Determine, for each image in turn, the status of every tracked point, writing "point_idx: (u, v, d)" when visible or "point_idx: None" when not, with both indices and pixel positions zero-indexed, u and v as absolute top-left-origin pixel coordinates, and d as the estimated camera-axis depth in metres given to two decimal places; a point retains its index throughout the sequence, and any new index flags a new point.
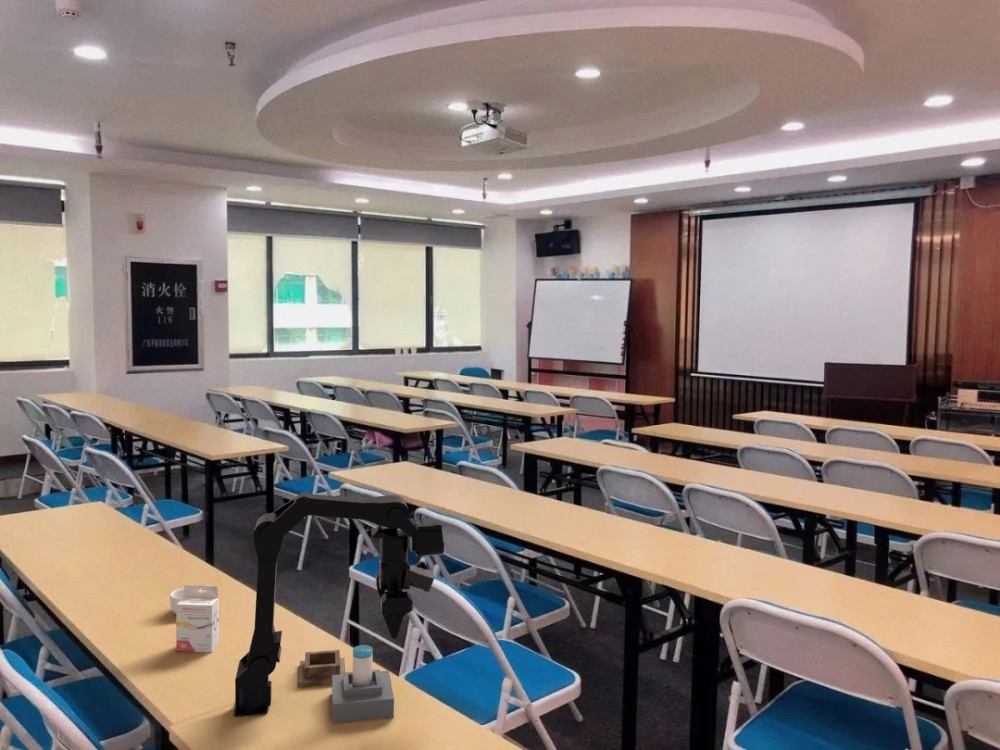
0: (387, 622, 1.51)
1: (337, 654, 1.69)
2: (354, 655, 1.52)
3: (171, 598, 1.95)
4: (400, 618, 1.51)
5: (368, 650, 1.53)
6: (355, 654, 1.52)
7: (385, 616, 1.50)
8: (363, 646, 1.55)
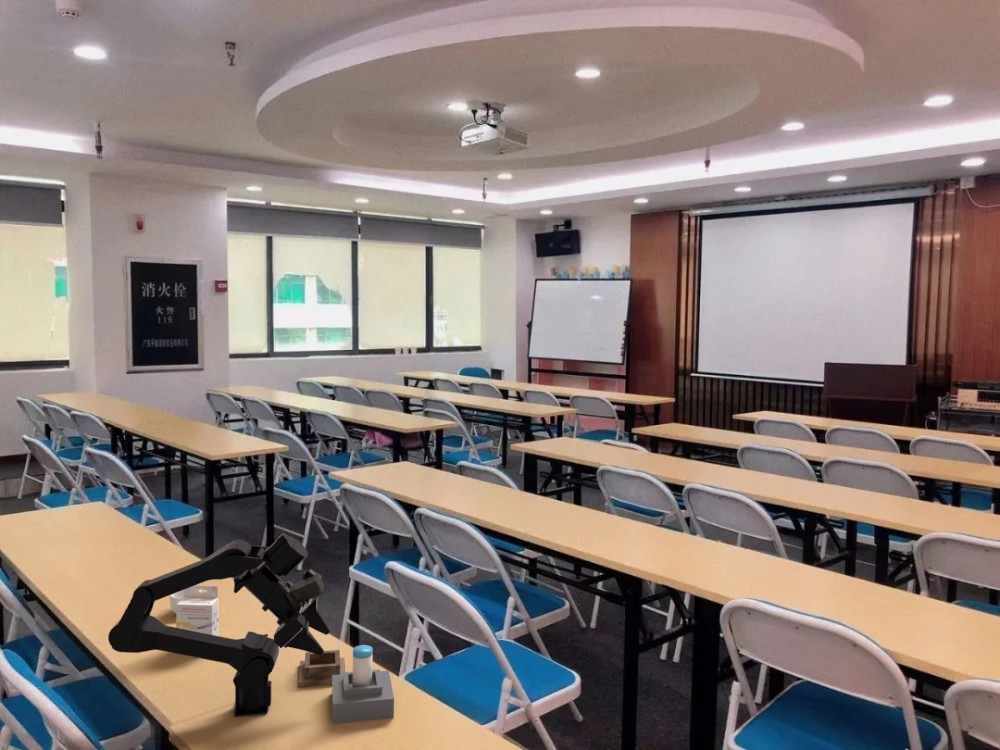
0: (300, 648, 1.46)
1: (337, 654, 1.69)
2: (354, 655, 1.52)
3: (171, 598, 1.95)
4: (307, 637, 1.46)
5: (368, 650, 1.53)
6: (355, 654, 1.52)
7: (293, 645, 1.45)
8: (363, 646, 1.55)
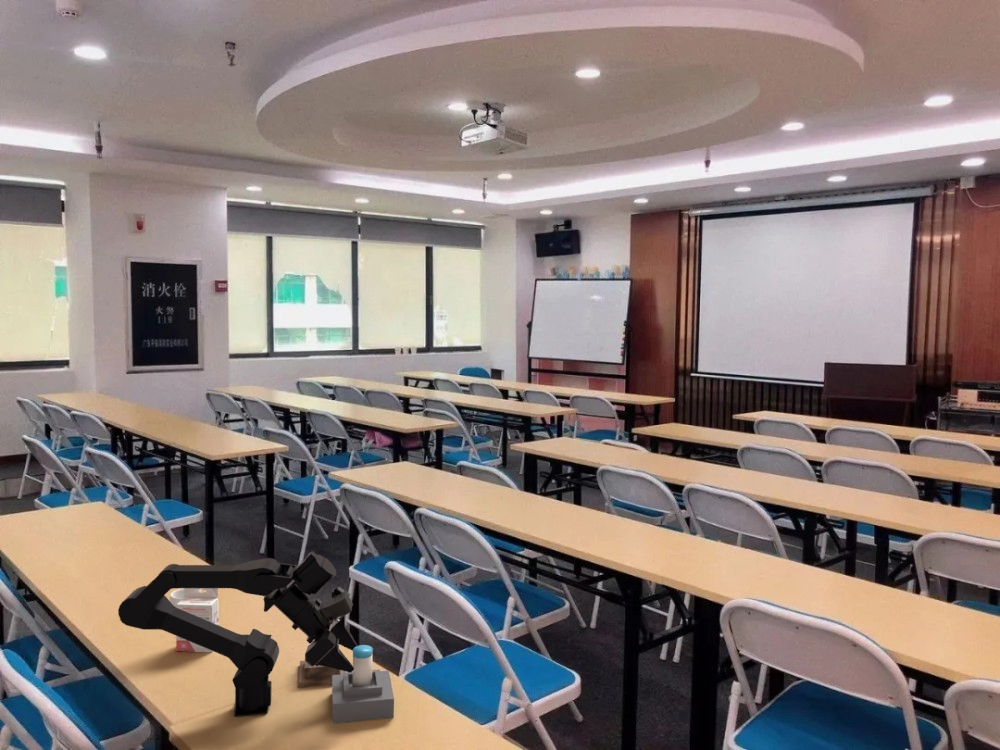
0: (331, 666, 1.47)
1: None
2: (354, 655, 1.52)
3: (171, 598, 1.95)
4: (338, 655, 1.47)
5: (368, 650, 1.53)
6: (355, 654, 1.52)
7: (323, 664, 1.46)
8: (363, 646, 1.55)
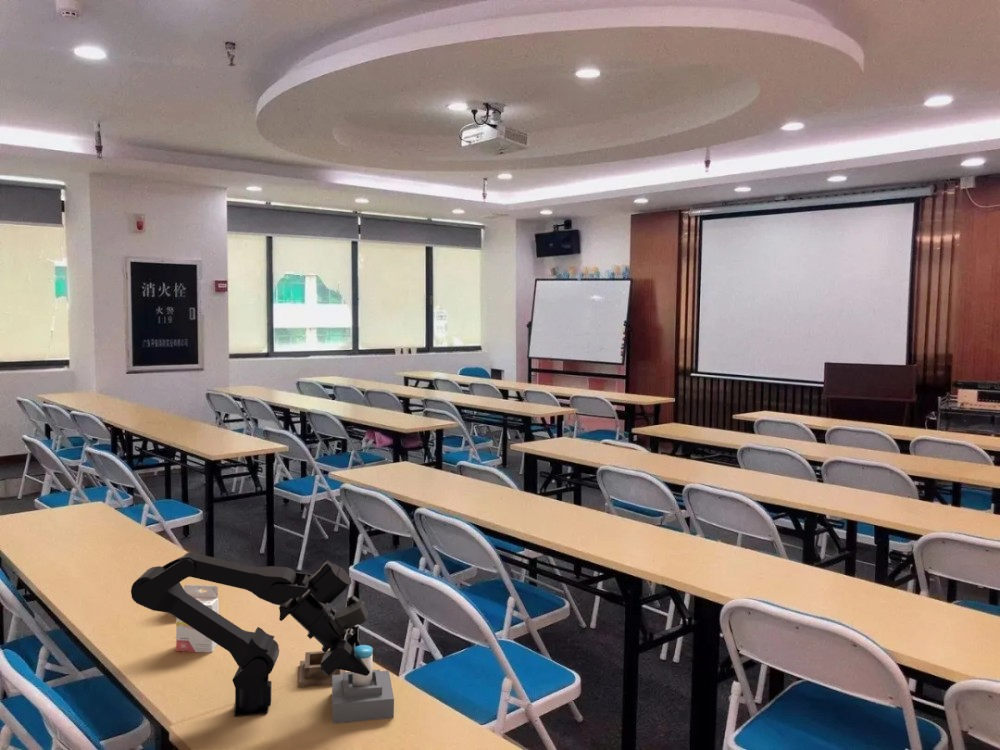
0: (347, 669, 1.50)
1: None
2: None
3: None
4: (354, 658, 1.50)
5: (368, 650, 1.53)
6: None
7: (340, 667, 1.49)
8: (363, 646, 1.55)
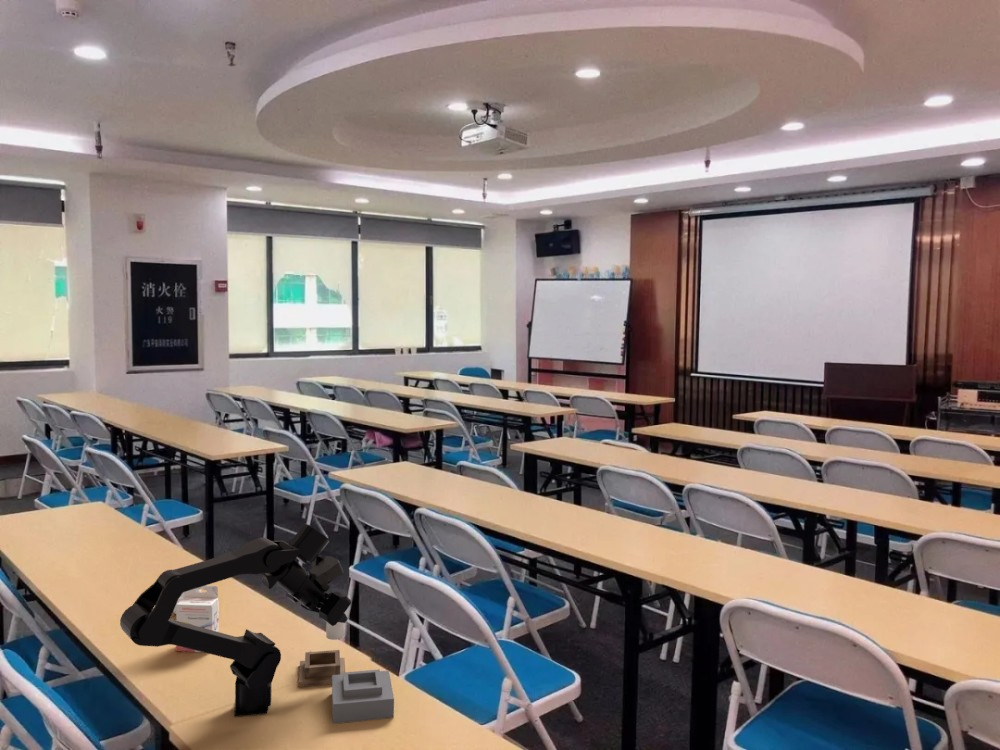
0: None
1: (337, 654, 1.69)
2: None
3: None
4: None
5: None
6: None
7: None
8: None
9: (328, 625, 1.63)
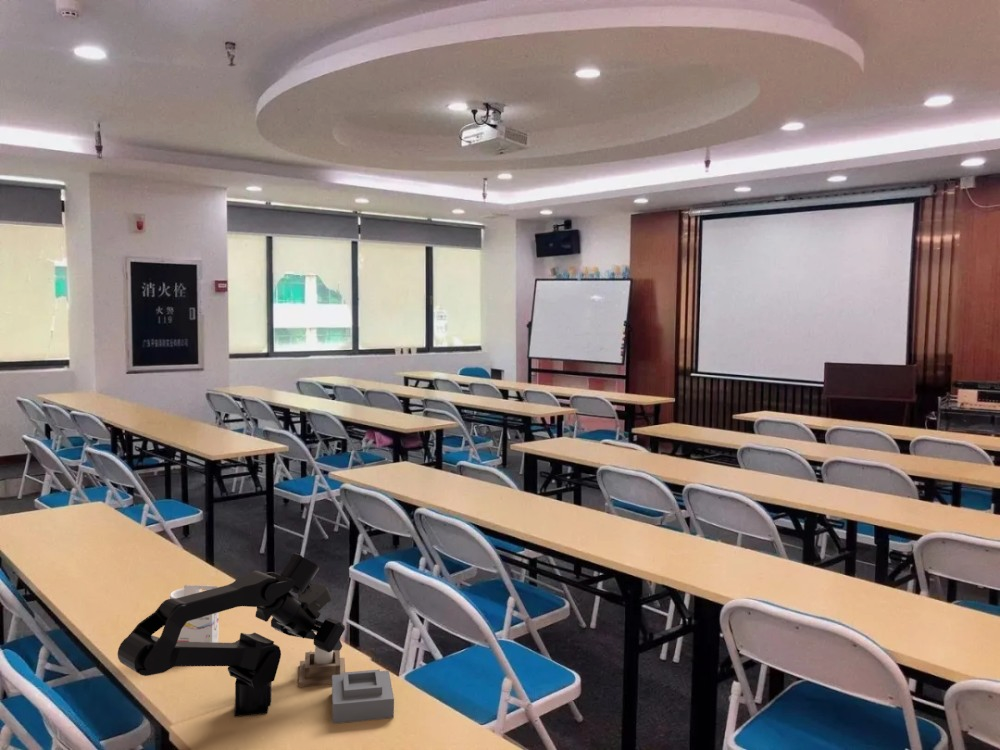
0: None
1: (337, 654, 1.69)
2: None
3: (171, 598, 1.95)
4: None
5: None
6: None
7: None
8: None
9: (317, 658, 1.65)
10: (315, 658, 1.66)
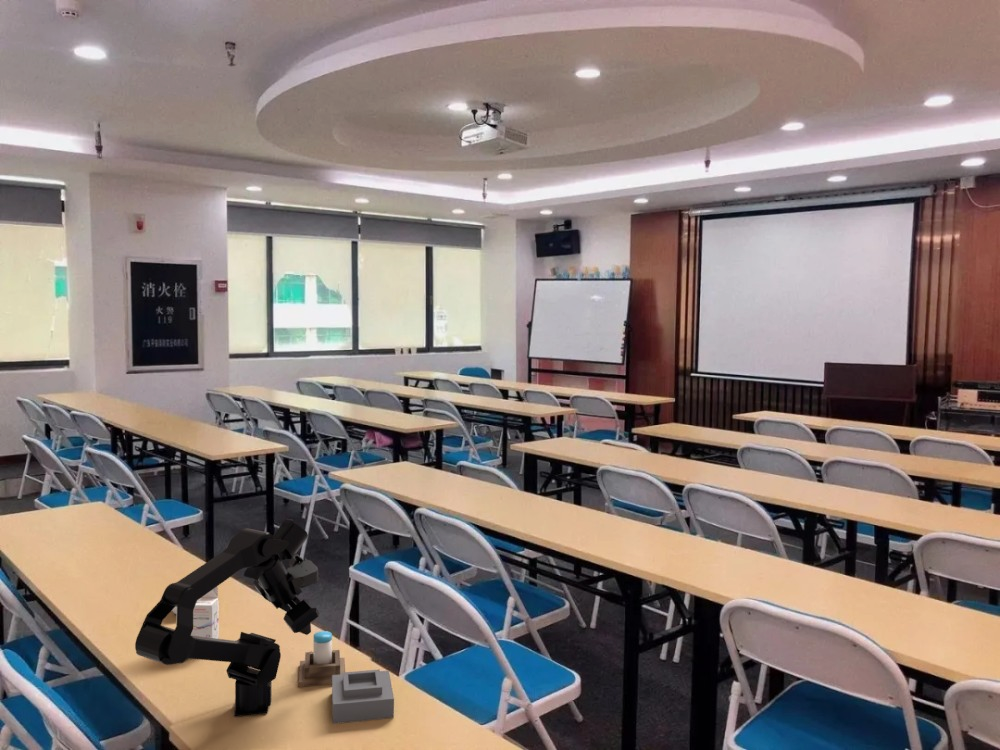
0: (299, 630, 1.57)
1: (337, 654, 1.69)
2: (321, 641, 1.64)
3: None
4: None
5: (328, 633, 1.67)
6: (322, 640, 1.64)
7: None
8: (318, 633, 1.67)
9: (316, 660, 1.65)
10: (314, 659, 1.66)
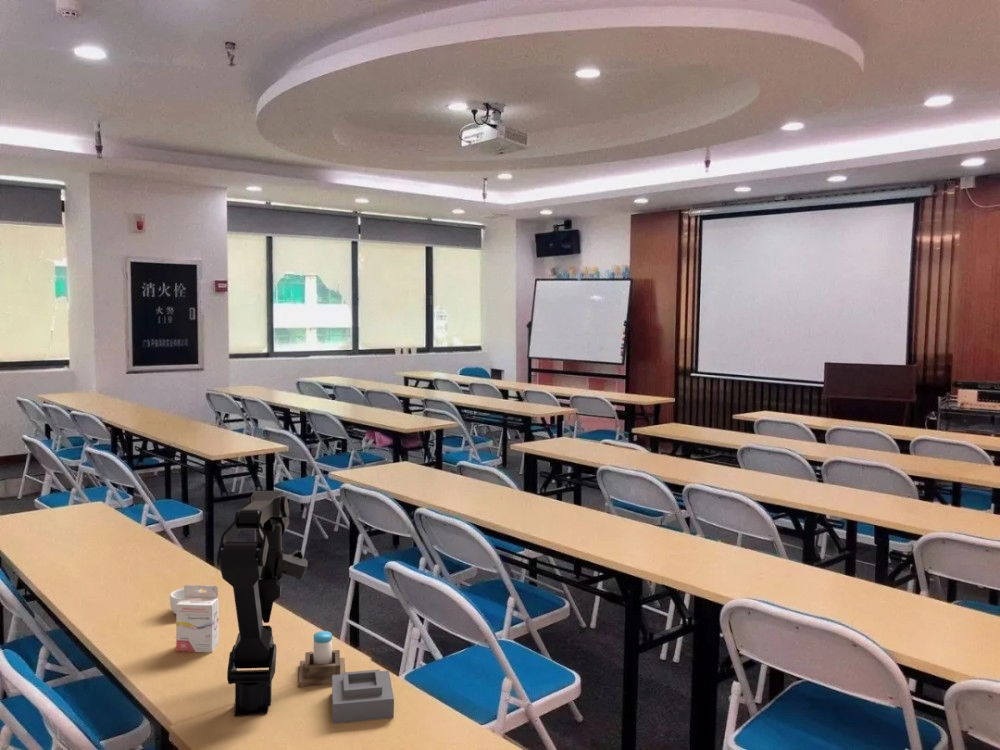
0: None
1: (337, 654, 1.69)
2: (321, 641, 1.64)
3: (171, 598, 1.95)
4: (270, 604, 1.61)
5: (328, 633, 1.67)
6: (322, 640, 1.64)
7: None
8: (318, 633, 1.67)
9: (316, 660, 1.65)
10: (314, 659, 1.66)
